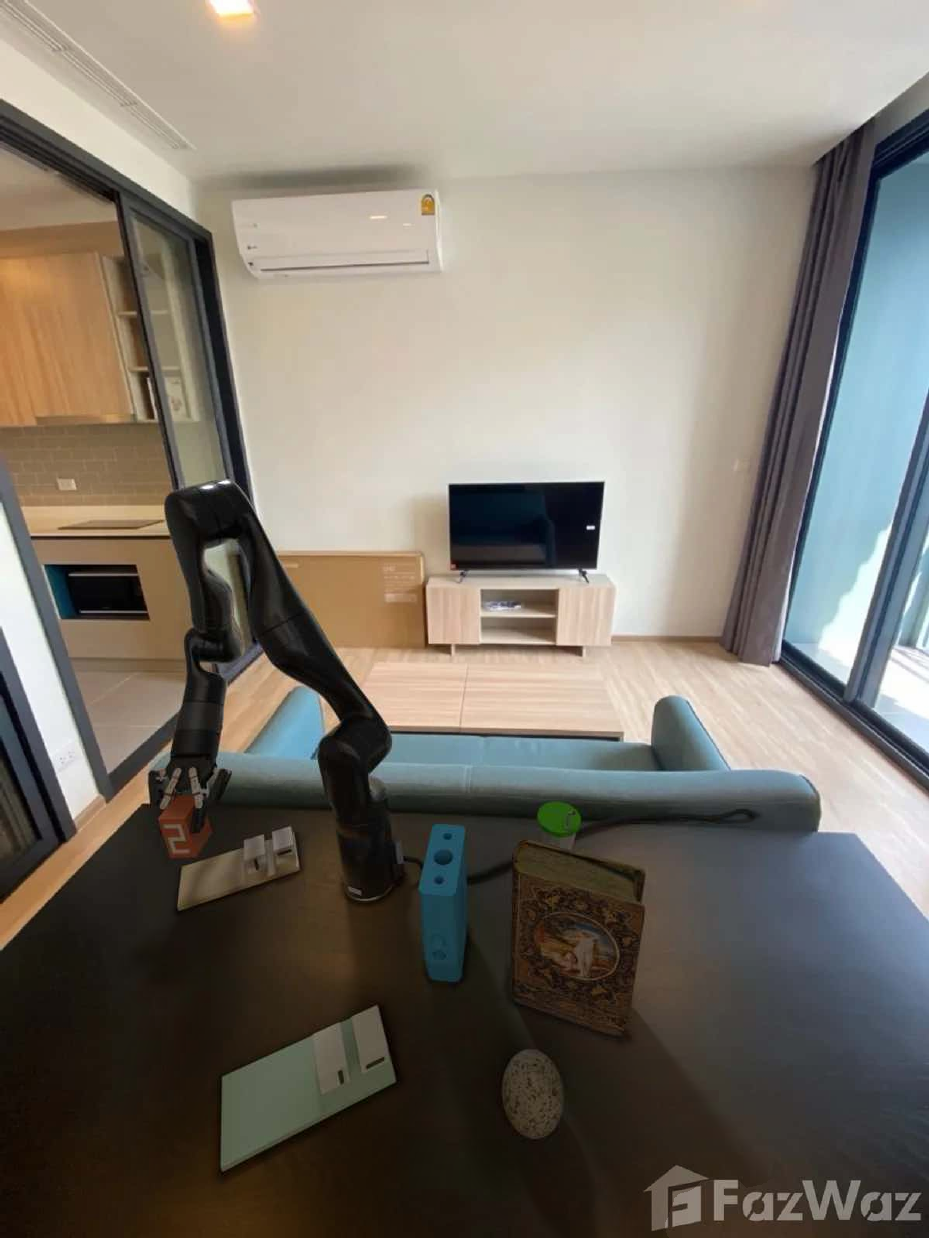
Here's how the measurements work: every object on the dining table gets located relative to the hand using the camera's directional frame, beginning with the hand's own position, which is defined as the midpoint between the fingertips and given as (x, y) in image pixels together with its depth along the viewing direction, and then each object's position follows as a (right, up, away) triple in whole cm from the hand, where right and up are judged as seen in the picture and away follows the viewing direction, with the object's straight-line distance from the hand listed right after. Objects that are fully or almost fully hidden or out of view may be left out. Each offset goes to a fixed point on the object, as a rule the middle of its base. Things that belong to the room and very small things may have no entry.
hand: (179, 832), depth 83 cm
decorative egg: (+56, -24, -24) cm, 65 cm away
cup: (+65, -10, +10) cm, 66 cm away
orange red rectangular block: (0, -4, +3) cm, 5 cm away
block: (+45, -16, -6) cm, 48 cm away
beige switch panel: (+6, -11, +9) cm, 16 cm away
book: (+62, -19, -12) cm, 66 cm away
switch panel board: (+28, -23, -20) cm, 41 cm away
